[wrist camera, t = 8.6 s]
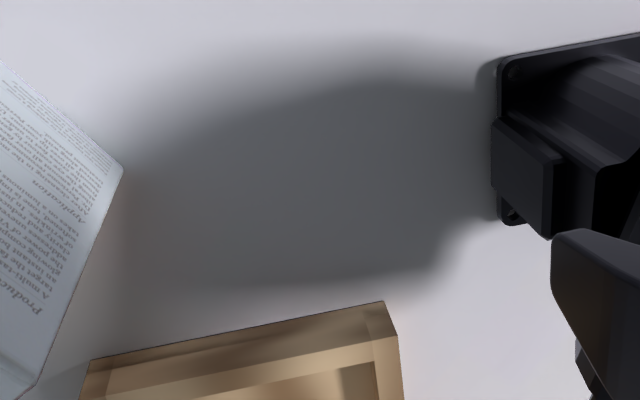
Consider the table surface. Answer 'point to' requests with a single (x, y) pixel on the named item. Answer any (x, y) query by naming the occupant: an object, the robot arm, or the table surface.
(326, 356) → the caddy
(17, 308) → the small box
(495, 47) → the table surface
